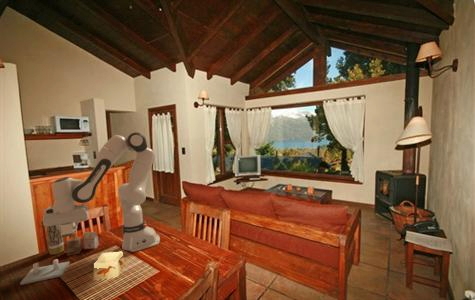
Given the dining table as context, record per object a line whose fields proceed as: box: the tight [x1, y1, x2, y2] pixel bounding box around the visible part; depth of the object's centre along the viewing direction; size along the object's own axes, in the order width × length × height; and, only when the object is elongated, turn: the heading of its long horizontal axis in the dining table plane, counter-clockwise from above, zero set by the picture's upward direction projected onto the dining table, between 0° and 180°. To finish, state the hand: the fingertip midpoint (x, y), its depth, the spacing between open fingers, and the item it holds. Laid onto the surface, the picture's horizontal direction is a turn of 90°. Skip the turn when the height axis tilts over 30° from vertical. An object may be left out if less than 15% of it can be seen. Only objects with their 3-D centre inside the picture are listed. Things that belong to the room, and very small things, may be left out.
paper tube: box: [46, 224, 65, 256], centre depth 127 cm, size 7×7×25 cm
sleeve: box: [60, 222, 77, 239], centre depth 119 cm, size 5×5×7 cm
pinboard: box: [19, 258, 71, 286], centre depth 109 cm, size 16×11×6 cm
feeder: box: [66, 236, 83, 256], centre depth 127 cm, size 6×5×8 cm
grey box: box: [82, 231, 99, 250], centre depth 133 cm, size 4×7×10 cm, turn 93°
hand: (68, 230), depth 119 cm, fingers closed on sleeve, 5 cm apart
